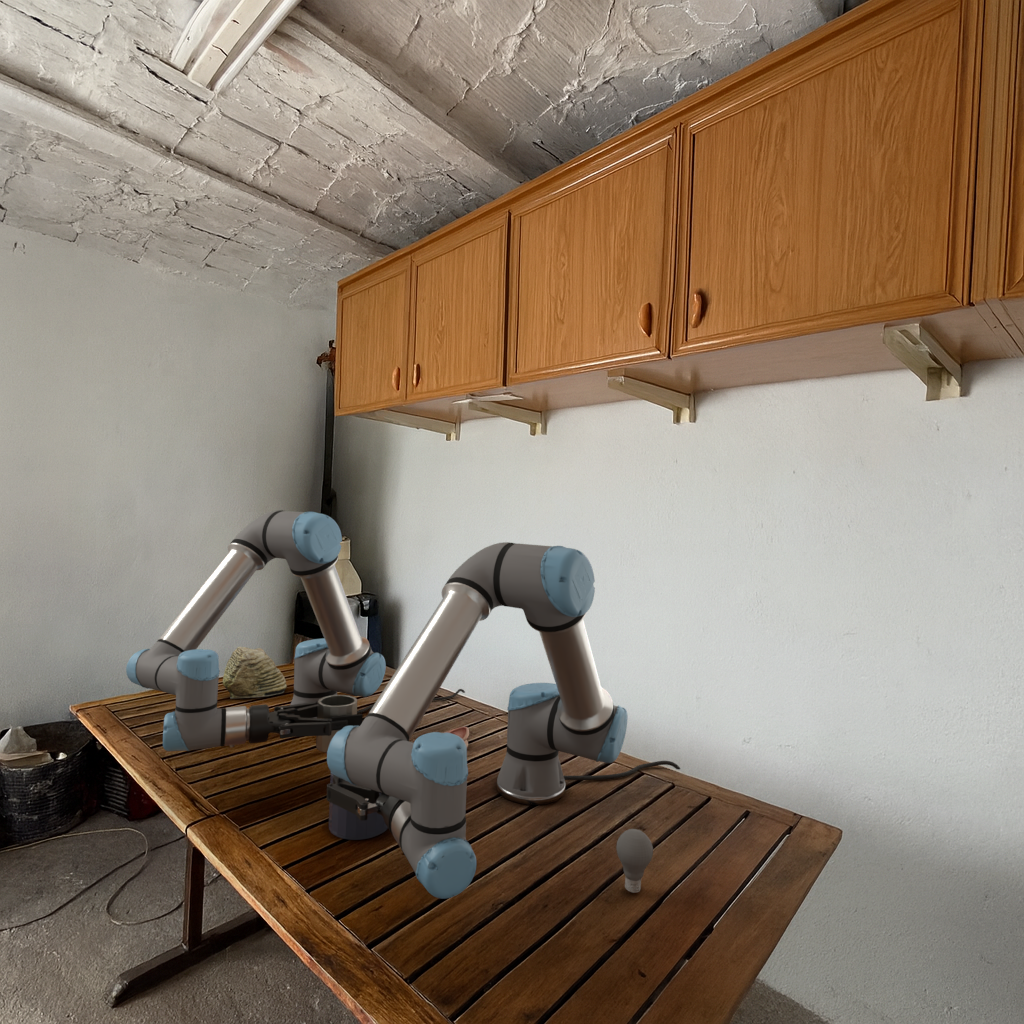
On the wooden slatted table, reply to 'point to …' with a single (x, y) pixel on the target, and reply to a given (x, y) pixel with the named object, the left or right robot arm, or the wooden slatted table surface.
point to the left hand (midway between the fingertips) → (357, 713)
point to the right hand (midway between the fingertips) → (374, 762)
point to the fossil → (252, 674)
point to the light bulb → (634, 857)
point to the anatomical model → (460, 733)
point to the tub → (354, 823)
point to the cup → (333, 714)
